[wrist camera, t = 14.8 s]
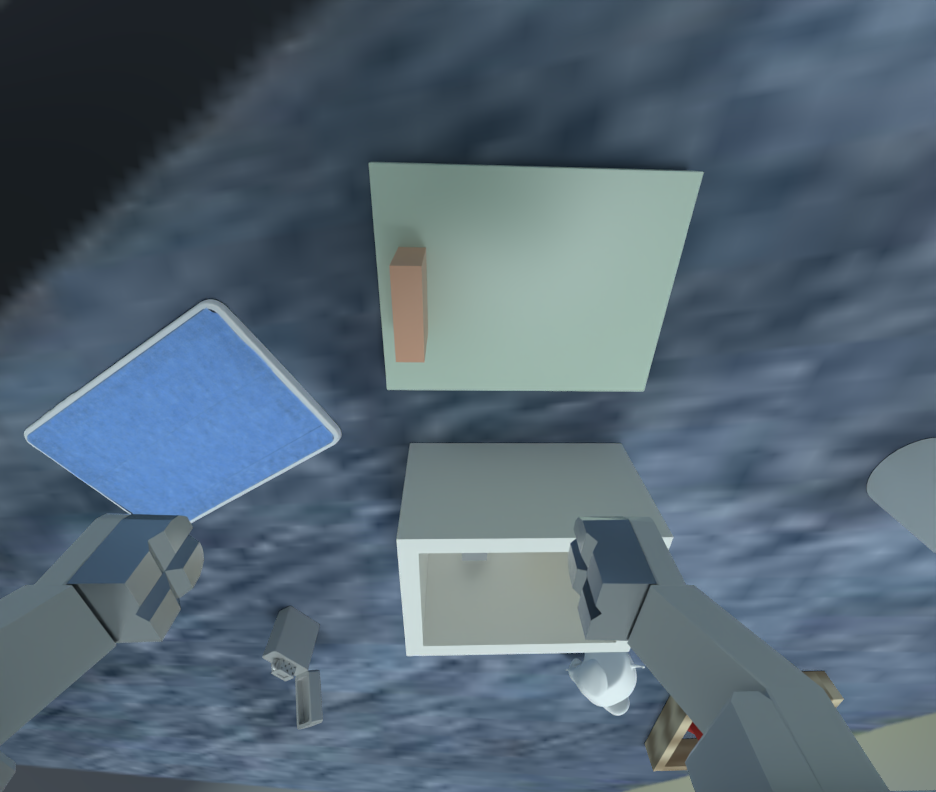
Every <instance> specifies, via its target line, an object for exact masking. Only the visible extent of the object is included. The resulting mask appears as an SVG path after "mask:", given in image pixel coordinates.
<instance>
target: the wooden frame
mask: <svg viewBox="0 0 936 792" xmlns="http://www.w3.org/2000/svg"><path fill="white" fill-rule="evenodd" d="M803 673H804V674H805V675H807V676H808V677H809V678H810V679H812V680H813V681H814V682H815V683H817V684H818V685H819V686H820V687H822V688H823V689H824V691H825V692H826V694H827V695H828V697H829V698H830V700H831V701H832V703H833V704H834V706H835V708H836V707H837V706H838V705H839V704H840V703H841V702H842V701H843V700H844V699H843V697H842V696H841V694H840V693H839V691H838V690H837V689H836V687H835V686H834V684H833V683H832V681H831V680H830V679H829V677H828V676H827V674H826V673H825V671H807V672H803ZM692 722H693V721H692V720H691V719H690V718H689V717H688V715H687V714H686V713H685V712H684V711H683V709H682V708H681V707H680V706H679V705H678V703H677V702H676V701H675V700H674V699H673V697H672V696H671V695H670V697H669V699H668V700H667V702H666V704H665V706H664V708H663V710H662V712H661V714H660V716H659V718H658V719H657V721H656V723H655V725H654V727H653V729H652V731H651V733H650V735H649V737H648V738H647V740H646V742H645V747H646V750H647V753H648V756H649V759H650V762H651V765H652V769H653V771H670V770H687V767H686V764H685V761H686V759H687V758H688V756H689V754H690V752H691V751H692V750H693V748H694V747H695V745H696V744H697V743H698V739H682V738H683V736H684V734H685V733H686V731H687V730H688V728H689V726H690V725H691V723H692Z"/></svg>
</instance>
